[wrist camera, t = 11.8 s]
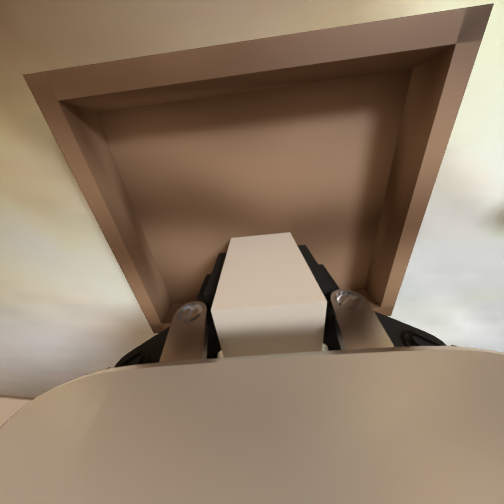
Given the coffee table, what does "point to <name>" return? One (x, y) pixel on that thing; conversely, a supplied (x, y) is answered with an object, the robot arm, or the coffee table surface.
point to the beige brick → (267, 299)
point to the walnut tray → (266, 149)
